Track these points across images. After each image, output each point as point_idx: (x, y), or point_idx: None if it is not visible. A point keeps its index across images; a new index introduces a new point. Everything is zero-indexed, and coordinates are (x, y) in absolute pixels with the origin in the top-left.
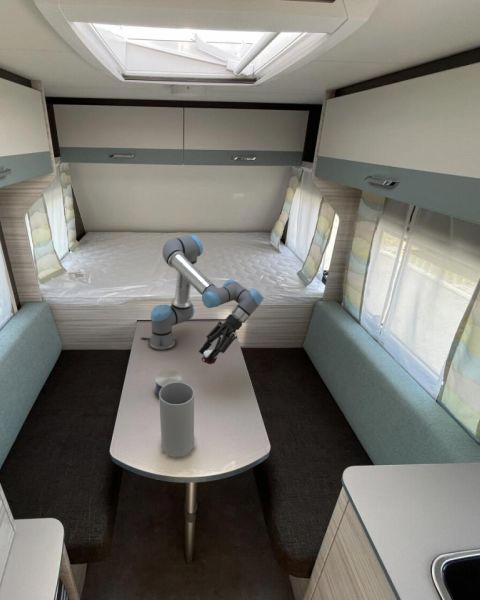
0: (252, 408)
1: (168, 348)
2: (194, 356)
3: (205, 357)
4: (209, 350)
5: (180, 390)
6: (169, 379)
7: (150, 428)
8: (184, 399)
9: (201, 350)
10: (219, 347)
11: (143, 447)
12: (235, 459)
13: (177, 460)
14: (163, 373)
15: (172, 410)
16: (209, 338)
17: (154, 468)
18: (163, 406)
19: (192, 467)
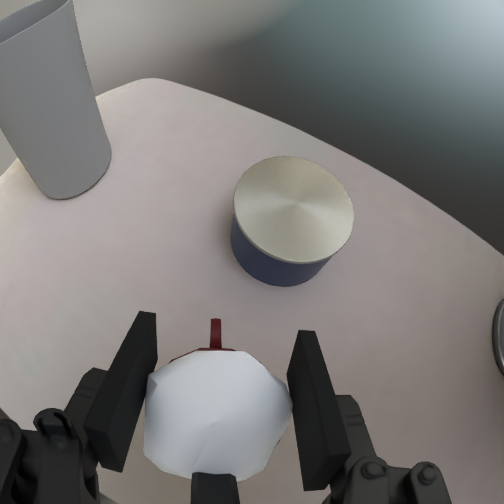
0: None
1: (495, 346)
2: (434, 429)
3: (202, 349)
4: (217, 410)
5: (38, 57)
6: (284, 201)
7: (162, 134)
8: (35, 95)
9: (301, 353)
10: (42, 465)
11: (125, 110)
12: None
13: None
14: (336, 202)
15: (10, 32)
16: (367, 490)
17: None
18: (36, 17)
19: (17, 170)
